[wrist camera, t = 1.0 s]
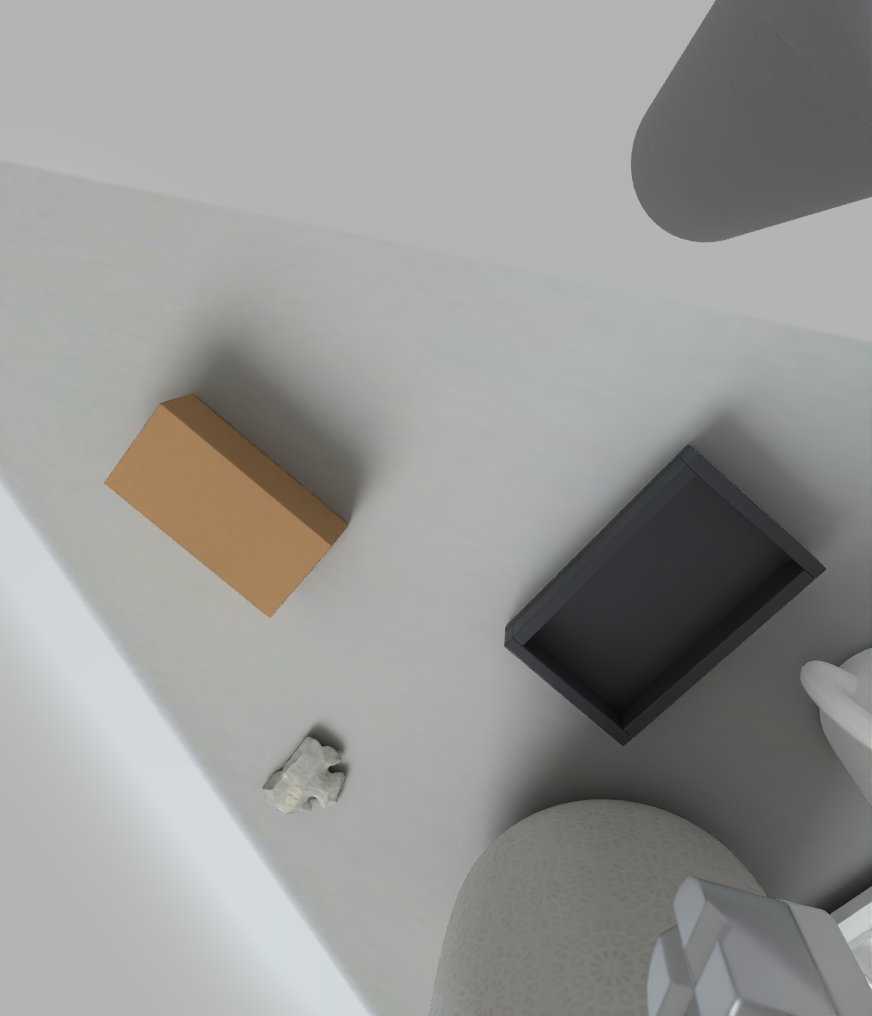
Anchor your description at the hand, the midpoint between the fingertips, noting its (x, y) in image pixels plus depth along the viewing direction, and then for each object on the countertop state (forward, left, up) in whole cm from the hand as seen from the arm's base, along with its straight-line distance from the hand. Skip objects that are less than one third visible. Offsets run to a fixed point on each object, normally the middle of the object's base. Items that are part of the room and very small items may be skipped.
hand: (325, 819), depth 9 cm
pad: (+14, -8, -35) cm, 38 cm away
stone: (+26, +10, -34) cm, 44 cm away
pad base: (+2, +14, -35) cm, 38 cm away
